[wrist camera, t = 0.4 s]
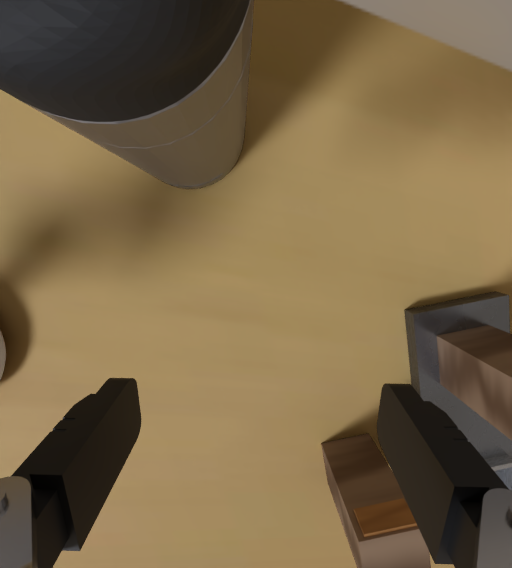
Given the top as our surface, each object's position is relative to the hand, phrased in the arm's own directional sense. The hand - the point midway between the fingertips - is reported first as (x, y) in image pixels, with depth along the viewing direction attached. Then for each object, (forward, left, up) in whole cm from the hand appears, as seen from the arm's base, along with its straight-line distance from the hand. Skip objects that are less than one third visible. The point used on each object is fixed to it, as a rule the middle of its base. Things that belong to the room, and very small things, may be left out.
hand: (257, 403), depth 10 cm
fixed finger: (+10, +19, -17) cm, 27 cm away
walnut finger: (+20, +7, -18) cm, 28 cm away
